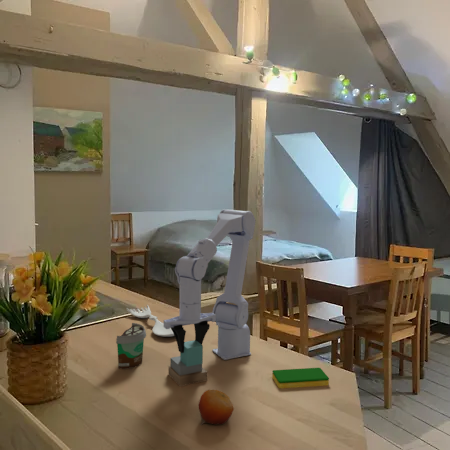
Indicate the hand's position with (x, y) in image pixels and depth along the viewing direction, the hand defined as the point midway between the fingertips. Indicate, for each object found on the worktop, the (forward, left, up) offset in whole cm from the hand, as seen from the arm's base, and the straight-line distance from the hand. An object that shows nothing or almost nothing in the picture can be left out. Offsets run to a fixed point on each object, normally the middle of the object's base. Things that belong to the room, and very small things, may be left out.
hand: (189, 350), depth 139 cm
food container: (+10, -16, -8) cm, 21 cm away
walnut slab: (0, -1, -8) cm, 9 cm away
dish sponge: (-26, +15, -9) cm, 31 cm away
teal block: (0, +1, -3) cm, 3 cm away
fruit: (+4, +23, -8) cm, 25 cm away
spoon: (-6, -44, -8) cm, 45 cm away
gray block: (+1, -1, -6) cm, 6 cm away
